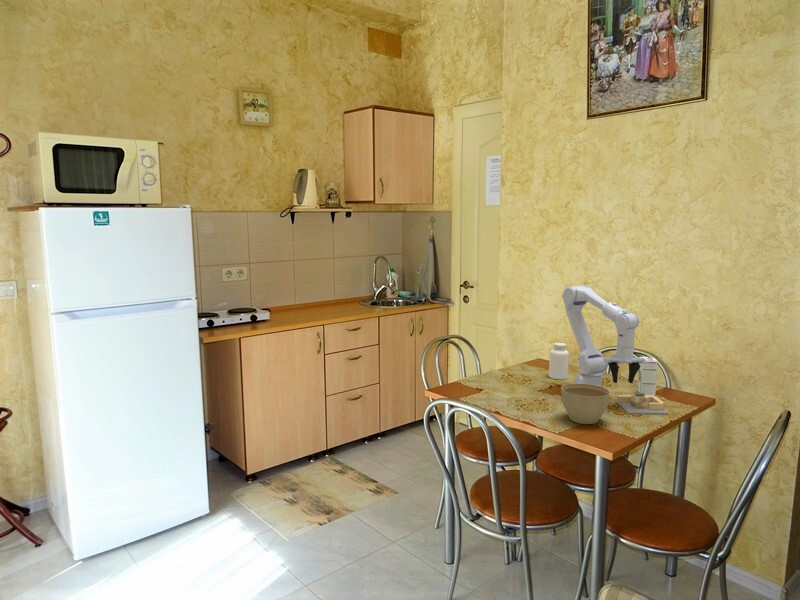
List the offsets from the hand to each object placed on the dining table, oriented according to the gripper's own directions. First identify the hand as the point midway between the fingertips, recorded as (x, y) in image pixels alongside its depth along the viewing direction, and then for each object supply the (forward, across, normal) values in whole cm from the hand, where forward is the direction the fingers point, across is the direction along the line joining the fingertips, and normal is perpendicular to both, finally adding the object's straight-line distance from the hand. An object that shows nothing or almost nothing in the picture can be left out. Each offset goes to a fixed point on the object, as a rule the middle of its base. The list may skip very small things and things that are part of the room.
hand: (622, 382), depth 205 cm
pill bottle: (+10, -13, +38) cm, 41 cm away
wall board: (+9, +7, -1) cm, 12 cm away
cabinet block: (+9, +6, -1) cm, 11 cm away
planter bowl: (+10, -18, -14) cm, 25 cm away
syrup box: (+10, +16, +16) cm, 25 cm away
